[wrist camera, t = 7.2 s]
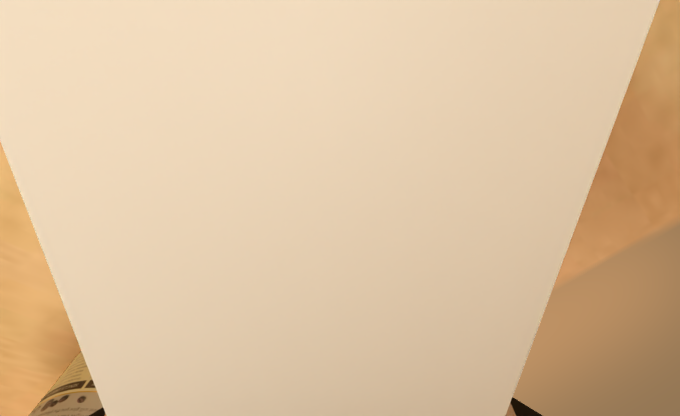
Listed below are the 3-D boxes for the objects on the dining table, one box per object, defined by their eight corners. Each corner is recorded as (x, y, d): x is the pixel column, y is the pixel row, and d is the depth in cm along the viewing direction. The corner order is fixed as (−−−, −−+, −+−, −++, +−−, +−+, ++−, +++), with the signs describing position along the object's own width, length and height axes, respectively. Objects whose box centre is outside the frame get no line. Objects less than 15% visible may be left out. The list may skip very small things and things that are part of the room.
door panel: (380, 24, 10) (774, -112, 1) (354, 358, 16) (396, 744, 7) (270, 19, 10) (-120, -178, 1) (284, 359, 16) (238, 757, 7)
